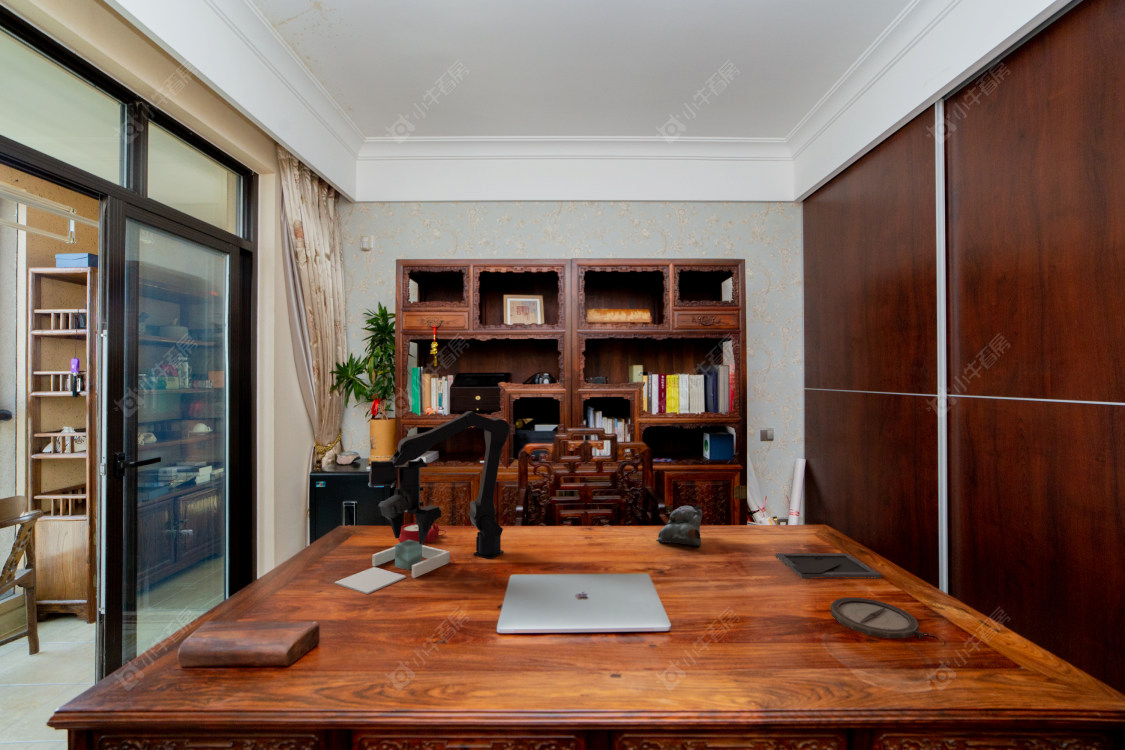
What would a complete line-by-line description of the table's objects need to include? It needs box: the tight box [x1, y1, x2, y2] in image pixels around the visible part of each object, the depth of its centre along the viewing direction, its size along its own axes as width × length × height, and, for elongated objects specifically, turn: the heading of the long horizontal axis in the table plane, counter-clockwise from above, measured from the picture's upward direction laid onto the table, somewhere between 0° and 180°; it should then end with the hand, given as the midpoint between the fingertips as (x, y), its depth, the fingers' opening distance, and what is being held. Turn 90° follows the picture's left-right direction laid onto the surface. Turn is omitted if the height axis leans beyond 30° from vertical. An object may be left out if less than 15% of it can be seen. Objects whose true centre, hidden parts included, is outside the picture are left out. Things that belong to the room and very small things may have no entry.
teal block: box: [394, 540, 423, 571], centre depth 143 cm, size 5×5×6 cm
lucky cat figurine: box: [655, 505, 703, 548], centre depth 164 cm, size 15×12×14 cm
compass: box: [830, 597, 939, 639], centre depth 112 cm, size 20×16×2 cm
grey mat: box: [334, 566, 407, 595], centre depth 133 cm, size 12×12×1 cm
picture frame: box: [775, 552, 883, 579], centre depth 145 cm, size 16×2×21 cm
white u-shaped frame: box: [371, 544, 451, 579], centre depth 144 cm, size 16×13×3 cm
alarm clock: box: [398, 522, 447, 544], centre depth 166 cm, size 10×6×15 cm
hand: (409, 541), depth 143 cm, fingers open, 9 cm apart
